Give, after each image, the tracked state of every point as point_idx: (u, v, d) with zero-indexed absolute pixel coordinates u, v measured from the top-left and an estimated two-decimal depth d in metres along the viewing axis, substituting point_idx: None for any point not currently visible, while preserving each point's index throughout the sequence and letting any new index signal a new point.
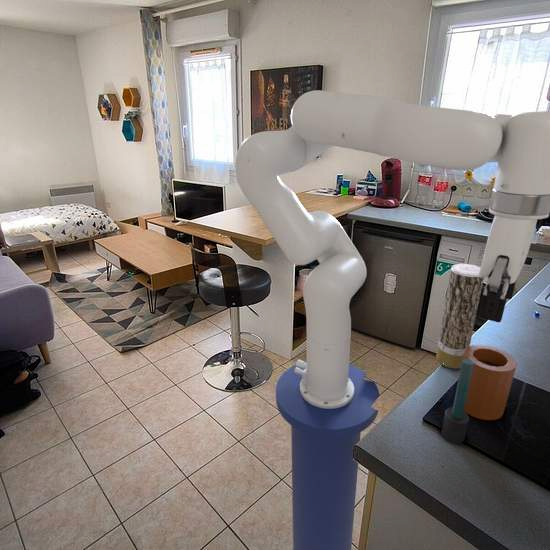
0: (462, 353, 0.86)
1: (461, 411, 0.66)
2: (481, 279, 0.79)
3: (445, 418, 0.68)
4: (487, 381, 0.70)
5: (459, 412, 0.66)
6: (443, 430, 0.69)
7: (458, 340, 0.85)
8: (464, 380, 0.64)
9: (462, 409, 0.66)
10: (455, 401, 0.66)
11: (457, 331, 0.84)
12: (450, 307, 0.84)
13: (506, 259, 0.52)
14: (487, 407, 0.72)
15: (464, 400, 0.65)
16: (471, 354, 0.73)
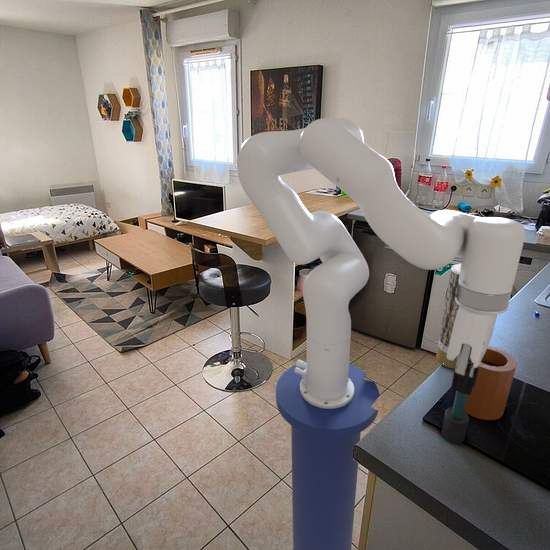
0: None
1: (461, 411, 0.66)
2: None
3: (445, 418, 0.68)
4: (487, 381, 0.70)
5: (459, 412, 0.66)
6: (443, 430, 0.69)
7: None
8: None
9: (462, 409, 0.66)
10: (455, 401, 0.66)
11: None
12: (450, 307, 0.84)
13: (469, 352, 0.58)
14: (487, 407, 0.72)
15: (464, 400, 0.65)
16: None
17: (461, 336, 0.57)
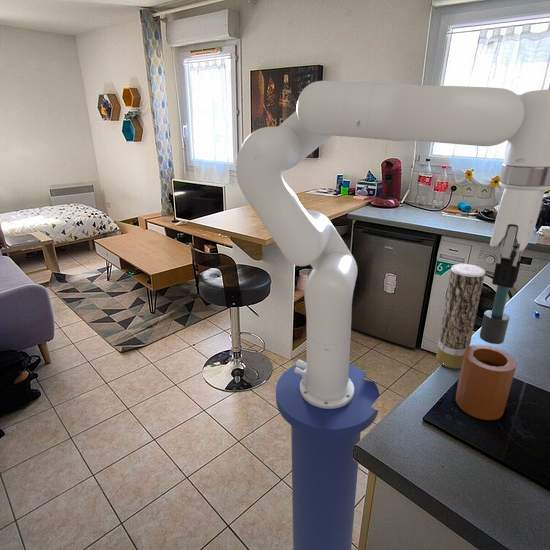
0: (462, 353, 0.86)
1: (502, 309, 0.65)
2: (481, 279, 0.79)
3: (484, 319, 0.67)
4: (487, 381, 0.70)
5: (500, 310, 0.65)
6: (482, 332, 0.68)
7: (458, 340, 0.85)
8: None
9: (503, 307, 0.65)
10: (495, 299, 0.65)
11: (457, 331, 0.84)
12: (450, 307, 0.84)
13: (514, 233, 0.57)
14: (487, 407, 0.72)
15: (505, 296, 0.64)
16: (471, 354, 0.73)
17: (507, 217, 0.57)
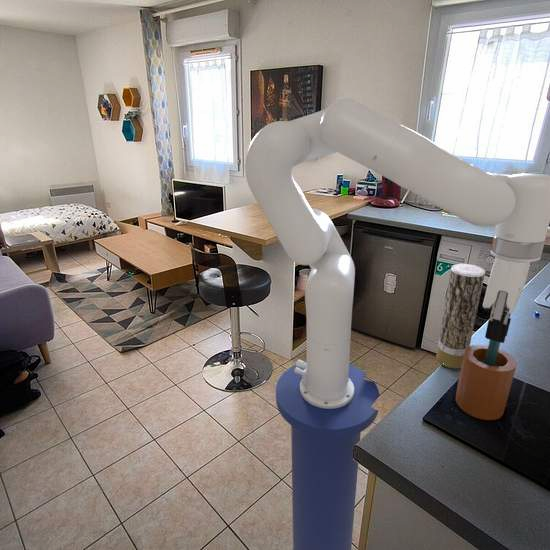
0: (462, 353, 0.86)
1: (494, 360, 0.72)
2: (481, 279, 0.79)
3: None
4: (487, 381, 0.70)
5: (492, 361, 0.72)
6: None
7: (458, 340, 0.85)
8: None
9: (495, 358, 0.71)
10: (488, 350, 0.72)
11: (457, 331, 0.84)
12: (450, 307, 0.84)
13: (504, 298, 0.63)
14: (487, 407, 0.72)
15: (497, 349, 0.71)
16: (471, 354, 0.73)
17: (498, 284, 0.63)
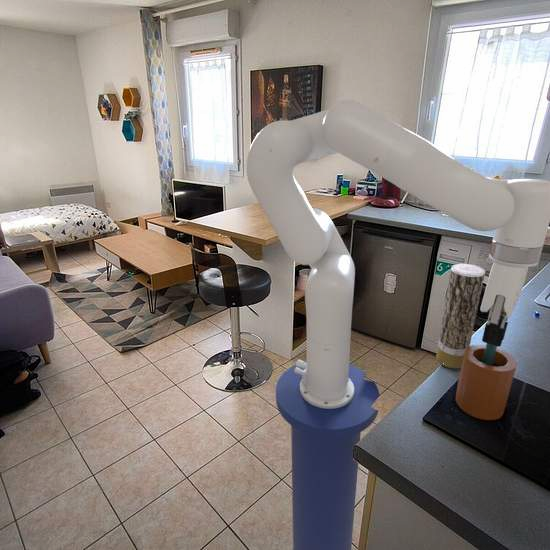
0: (462, 353, 0.86)
1: (490, 363, 0.72)
2: (481, 279, 0.79)
3: None
4: (487, 381, 0.70)
5: (489, 364, 0.72)
6: None
7: (458, 340, 0.85)
8: None
9: (491, 361, 0.72)
10: (485, 354, 0.72)
11: (457, 331, 0.84)
12: (450, 307, 0.84)
13: (502, 303, 0.63)
14: (487, 407, 0.72)
15: (494, 352, 0.71)
16: (471, 354, 0.73)
17: (495, 288, 0.63)
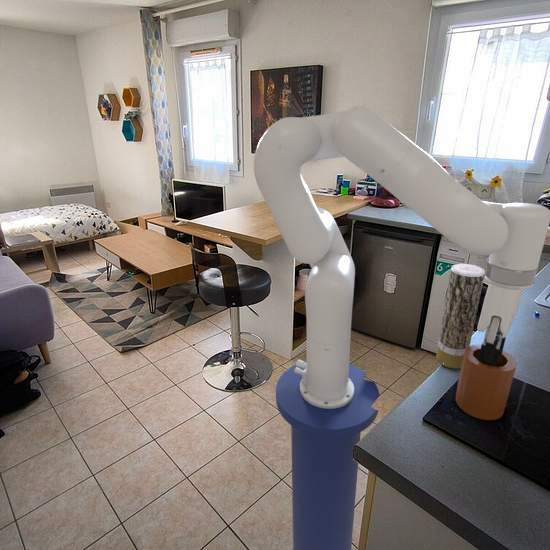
0: (462, 353, 0.86)
1: None
2: (481, 279, 0.79)
3: None
4: (487, 381, 0.70)
5: None
6: None
7: (458, 340, 0.85)
8: None
9: None
10: None
11: (457, 331, 0.84)
12: (450, 307, 0.84)
13: (498, 322, 0.65)
14: (487, 407, 0.72)
15: None
16: (471, 354, 0.73)
17: (491, 309, 0.65)
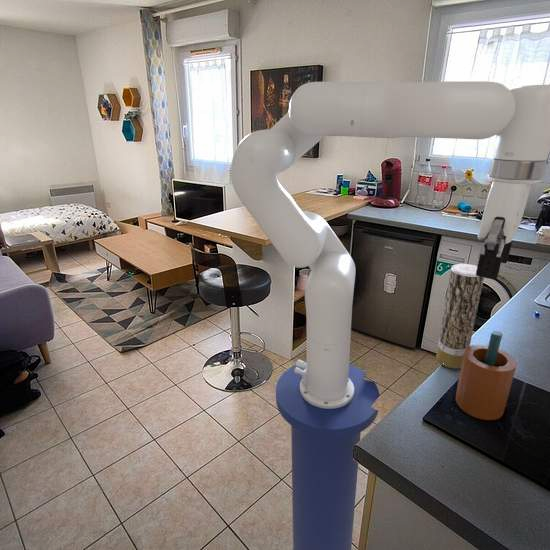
0: (462, 353, 0.86)
1: None
2: (481, 279, 0.79)
3: None
4: (487, 381, 0.70)
5: None
6: None
7: (458, 340, 0.85)
8: (493, 350, 0.71)
9: None
10: None
11: (457, 331, 0.84)
12: (450, 307, 0.84)
13: (502, 220, 0.58)
14: (487, 407, 0.72)
15: None
16: (471, 354, 0.73)
17: (494, 209, 0.58)
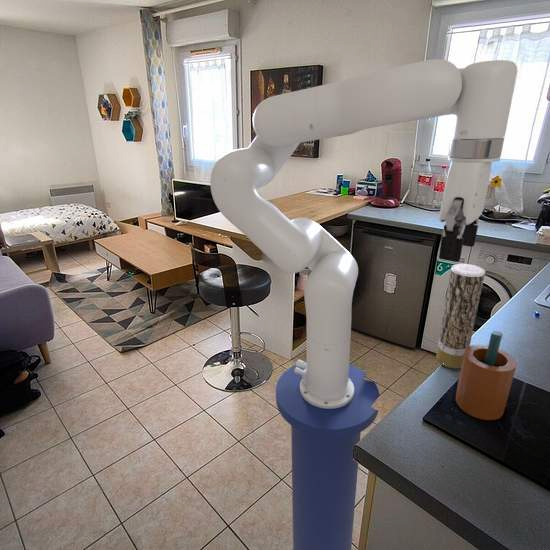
0: (462, 353, 0.86)
1: None
2: (481, 279, 0.79)
3: None
4: (487, 381, 0.70)
5: None
6: None
7: (458, 340, 0.85)
8: (493, 350, 0.71)
9: None
10: None
11: (457, 331, 0.84)
12: (450, 307, 0.84)
13: (461, 200, 0.57)
14: (487, 407, 0.72)
15: None
16: (471, 354, 0.73)
17: (453, 190, 0.57)
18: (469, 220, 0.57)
